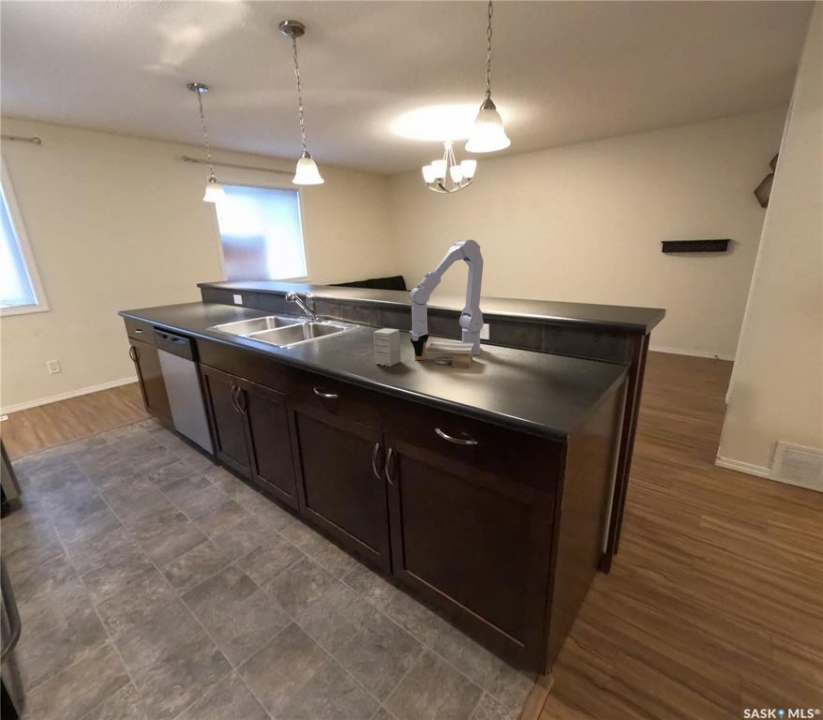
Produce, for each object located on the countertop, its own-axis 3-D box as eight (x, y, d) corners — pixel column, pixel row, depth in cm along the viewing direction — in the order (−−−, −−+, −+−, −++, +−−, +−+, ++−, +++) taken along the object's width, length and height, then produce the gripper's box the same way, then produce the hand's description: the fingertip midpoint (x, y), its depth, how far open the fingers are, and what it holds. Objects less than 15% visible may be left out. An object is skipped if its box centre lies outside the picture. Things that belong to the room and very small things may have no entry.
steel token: (436, 360, 149) (436, 356, 149) (452, 361, 148) (452, 357, 147) (433, 364, 144) (433, 360, 143) (449, 365, 142) (449, 361, 142)
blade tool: (416, 356, 153) (416, 341, 151) (453, 357, 150) (453, 342, 149) (414, 359, 149) (414, 344, 148) (452, 360, 147) (452, 344, 145)
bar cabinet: (433, 357, 152) (432, 341, 150) (474, 359, 148) (474, 343, 146) (426, 366, 142) (426, 348, 140) (470, 368, 138) (470, 350, 136)
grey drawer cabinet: (385, 359, 152) (383, 327, 149) (401, 361, 148) (400, 329, 145) (374, 364, 146) (372, 331, 143) (390, 366, 142) (389, 333, 139)
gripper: (414, 316, 154) (415, 349, 158) (404, 323, 141) (405, 359, 145) (431, 316, 153) (432, 350, 156) (422, 323, 139) (423, 360, 143)
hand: (420, 354), depth 151 cm, fingers closed on blade tool, 4 cm apart
